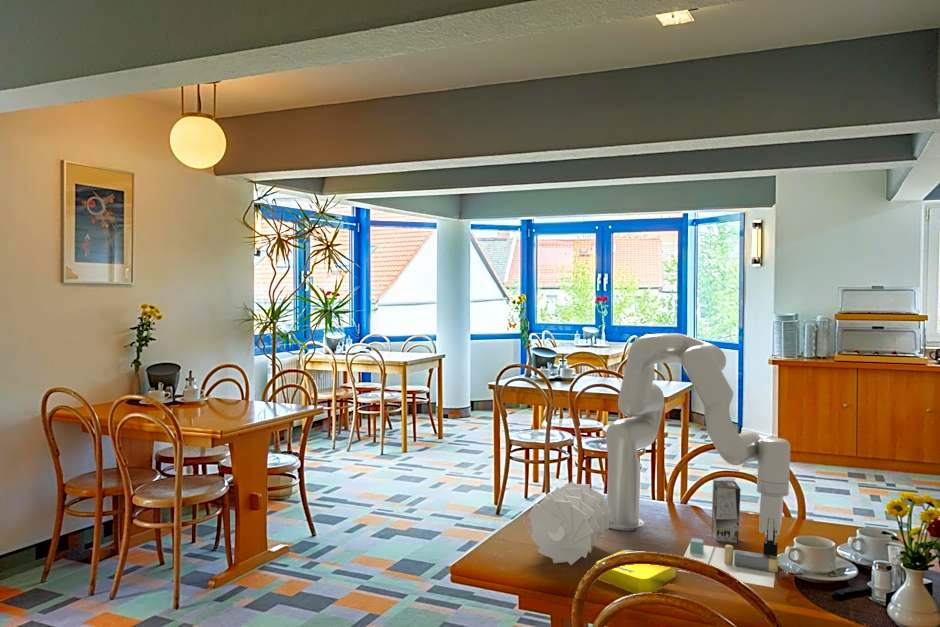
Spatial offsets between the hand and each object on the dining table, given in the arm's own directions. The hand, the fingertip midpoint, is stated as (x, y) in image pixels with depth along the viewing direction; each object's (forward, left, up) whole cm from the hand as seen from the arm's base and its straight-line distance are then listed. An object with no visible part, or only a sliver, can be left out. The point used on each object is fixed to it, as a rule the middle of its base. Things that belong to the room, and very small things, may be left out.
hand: (770, 558), depth 188 cm
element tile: (-29, -24, -3) cm, 38 cm away
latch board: (-10, -6, -2) cm, 11 cm away
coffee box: (-13, +16, -3) cm, 21 cm away
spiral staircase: (-49, -15, -3) cm, 51 cm away
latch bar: (-3, -6, -1) cm, 7 cm away
